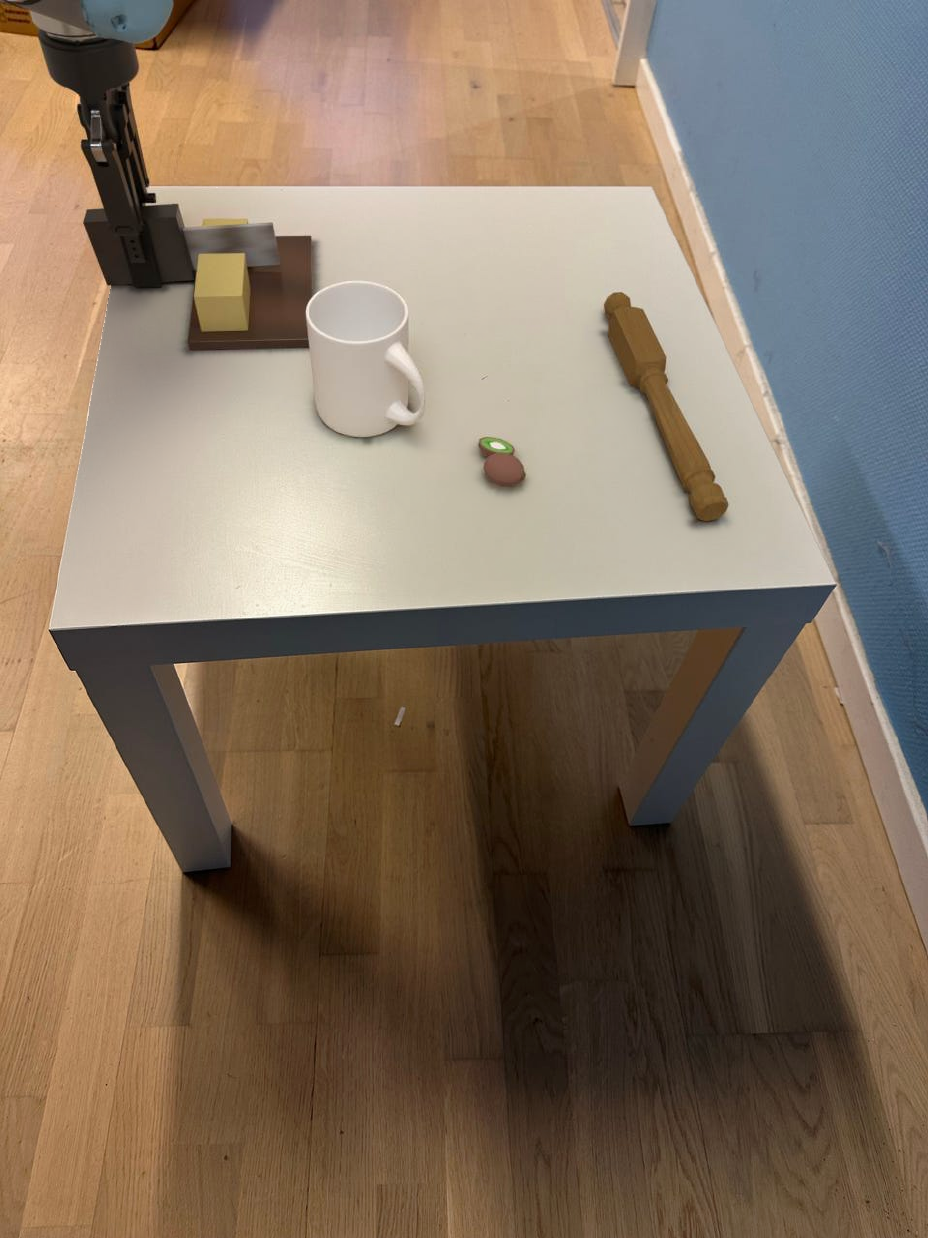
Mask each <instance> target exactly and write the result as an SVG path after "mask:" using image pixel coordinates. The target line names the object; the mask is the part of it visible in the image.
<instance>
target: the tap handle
mask: <svg viewBox="0 0 928 1238" xmlns="http://www.w3.org/2000/svg"><path fill="white" fill-rule="evenodd" d="M603 308H604V309H603V310H604V314H605V316H606V317H607V318H609V321H608V329H607V330H608V332H607V334H608V335H607V336H608V337H607V338H608V340H609V342H610V344H611V346H612V349H613V350H614V353H615V356H616V357H617V360H618V362H619V364H620V366H621V369H622V371H623V374H624V376H625V378H626V380H627V382H628V384H629V385H630V386H633V387H637V388H639V390H640V392H641V394H643V395H646V397H647V400H648V403H649V405H650V407H651V409H652V413H653V415H654V418H655V420H656V423H657V425H658V427H659V430H660V432H661V433H660V434H661V435H662V438H663V441H664V443H665V445H666V448H667V450H668V454H669V455H670V458H671V460H672V463H673V465H674V468H675V470H676V473H677V476H678V478H679V480H680V482H681V483H682V487H683V489H684V491H685V492H687V493H689V503H690V505H691V507H692V509H693V510H694V514H695V515H696V518H697V519H698V520H700V521H703V522H709V521H711V522H712V521H715V520H717V519H719V518H721V517H722V516H723V515H725V513H727V510H728V507H729V502H728V499H727V497H726V496H725V493H724V491H723V488H722V487H721V485H720V484H719V483H717V482H715V479H716V475H715V471H714V470H713V469H712V466H711V464H710V462H709V460H708V457H707V456H706V454H705V452H704V450H703V448H702V447H701V445H700V443H699V442H698V439H697V438H696V436H695V434H694V432H693V431H692V428H691V427H690V425H689V423H688V421H687V419H686V418H685V415H684V413H683V412H682V410H681V408H680V407H679V404H678V403H677V401H676V399H675V397H674V395H673V394H672V392H671V390H670V388H669V386H668V385H667V384H668V381H669V379H668V377H667V374H666V373H665V372H666V367H667V355H666V353H665V351H664V348H663V347H662V344H661V343H660V341H659V338H658V337H657V335H656V332H655V331H654V329H653V326H652V324H651V322H650V321H649V319H648V317H647V314H646V312H645V311H644V309H643V308H641V307H638V306H637V307H636V306H632V302H631V297H630V296H628V295H627V294H625V293H624V292H623V291H618V292H617V291H615V292H612V293H611V294H609V295H608V296H607V297H606V299H605V301H604V303H603Z"/></svg>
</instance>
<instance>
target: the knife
mask: <svg viewBox="0 0 928 1238" xmlns="http://www.w3.org/2000/svg"><path fill="white" fill-rule="evenodd" d="M139 207H140V211H141V216H142V220H143V222H144V224H147V227H148V231H149V235H150V239H151V243H152V247H153V251H154V255H155V259H156V263H157V267H158V271H159V275H160V278H161V282H162V283H167V282H184V281H195V275H196V270H197V265H198V256H199V254H223V253H245V257H246V264H247V267H252V266H268V265H280V257H279V252H278V247H277V242H276V237H275V236H276V233H275V227H274V223H273V221H272V222H271V221H270V222H269V221H268V222H256V223H255V222H254V223H253V222H252V223H248V224H237V225H221V226H205V227H202V226H191V227H189V226H188V227H186V226H185V223H184V218H183V215H182V212H181V209H180V205H179V203H167V204H152V205H151V204H150V205H146V206H139ZM82 224H83V226H84V229H85V232H86V235H87V237H88V239H89V242H90V245H91V248H92V250H93V252H94V256H95V257H96V261H97V262H98V263H97V264H98V265H99V268H100V270H101V273H102V275H103V278H104V281H105V283H106V286H107V287H108V286H123V285H133V281H132V278H131V274H130V271H129V267H128V264H127V260H126V257H125V253H124V250H123V246H122V243H121V239H120V236H113V235H112V232H109V231H108V225H109V223H108V220H107V217H106V214H105V211H104V208H103V207H101V208H87V209H86V211H85V214H84V218H83V222H82Z"/></svg>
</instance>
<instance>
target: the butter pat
mask: <svg viewBox="0 0 928 1238" xmlns="http://www.w3.org/2000/svg"><path fill="white" fill-rule="evenodd" d="M237 224H249V219H248V218H202V226H201V227H205V226H221V225H237Z"/></svg>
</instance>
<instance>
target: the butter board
mask: <svg viewBox="0 0 928 1238" xmlns="http://www.w3.org/2000/svg"><path fill="white" fill-rule="evenodd" d="M275 237H276V242H277V247H278V252H279V257H280V265H268V266H252V267H247V270H248V276H249V282H250V306H249V324H248V331H209V332H202V331H201V326H200V322H199V317H198V313H197V309H196V304H195V300H194V291H195V282H196V273H197V270H196V271H195V278H194V284H193V291H192V292H193V293H192V302H191V310H190V320H189V326H188V337H187V345H188V350H189V351H211V350H212V351H213V350H251V349H255V350H256V349H257V350H258V349H288V348H289V349H292V348H294V349H295V348H296V349H297V348H309V339H308V330H307V321H306V307H307V305H308V302H309V301H310V299H311V298H312V297H313V296H314V294H313V292H314V288H313V287H314V285H313V282H314V281H313V280H314V279H313V239H312V235H275Z"/></svg>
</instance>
